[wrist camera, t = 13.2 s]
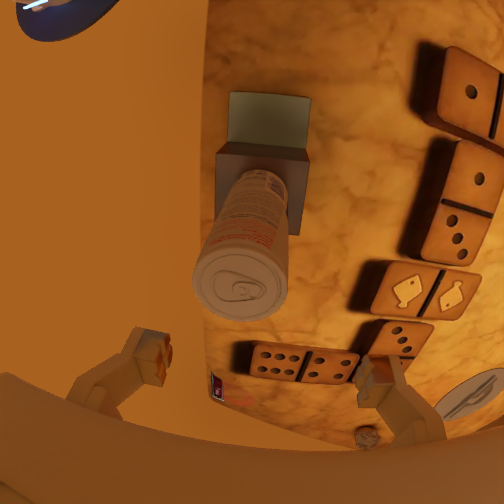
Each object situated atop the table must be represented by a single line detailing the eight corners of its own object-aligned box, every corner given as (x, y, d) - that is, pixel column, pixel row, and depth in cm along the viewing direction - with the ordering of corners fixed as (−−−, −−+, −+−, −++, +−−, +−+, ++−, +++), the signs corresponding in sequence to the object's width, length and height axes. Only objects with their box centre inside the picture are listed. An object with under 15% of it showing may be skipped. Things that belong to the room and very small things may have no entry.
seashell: (380, 419, 72) (353, 425, 73) (384, 439, 66) (357, 445, 67) (376, 433, 76) (352, 438, 77) (380, 451, 70) (355, 457, 71)
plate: (483, 361, 56) (484, 365, 55) (520, 373, 59) (521, 376, 58) (414, 418, 71) (415, 421, 70) (462, 421, 74) (463, 424, 73)
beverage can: (220, 186, 30) (170, 272, 17) (269, 157, 28) (253, 229, 15) (250, 229, 32) (226, 335, 19) (298, 205, 30) (305, 305, 17)
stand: (236, 90, 34) (218, 92, 25) (308, 97, 34) (317, 100, 24) (231, 191, 42) (214, 226, 32) (296, 198, 41) (299, 235, 32)
